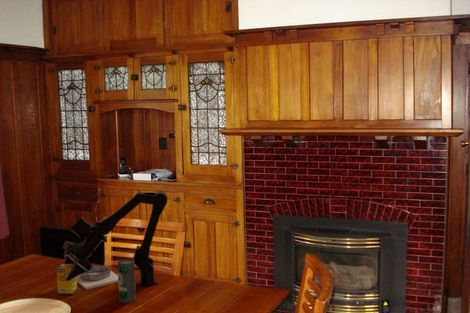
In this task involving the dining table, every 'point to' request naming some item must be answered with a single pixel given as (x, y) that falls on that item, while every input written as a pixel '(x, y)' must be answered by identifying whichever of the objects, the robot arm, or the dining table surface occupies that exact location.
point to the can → (126, 281)
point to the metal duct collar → (96, 277)
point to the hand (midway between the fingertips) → (63, 276)
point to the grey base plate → (93, 284)
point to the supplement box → (63, 284)
